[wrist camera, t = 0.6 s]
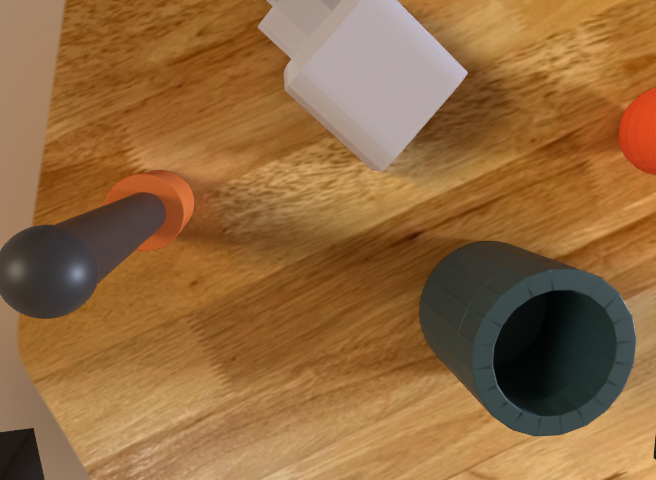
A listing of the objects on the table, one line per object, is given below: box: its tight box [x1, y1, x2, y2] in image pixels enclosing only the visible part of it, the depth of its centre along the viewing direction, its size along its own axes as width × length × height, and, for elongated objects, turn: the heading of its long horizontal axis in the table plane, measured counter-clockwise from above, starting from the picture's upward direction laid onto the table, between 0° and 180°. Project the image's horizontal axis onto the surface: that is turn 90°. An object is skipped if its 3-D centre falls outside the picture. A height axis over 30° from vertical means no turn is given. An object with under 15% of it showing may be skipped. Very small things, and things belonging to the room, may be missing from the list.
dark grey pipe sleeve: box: [420, 241, 637, 436], centre depth 41 cm, size 11×11×11 cm
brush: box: [0, 170, 194, 319], centre depth 29 cm, size 5×5×26 cm
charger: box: [257, 0, 468, 172], centre depth 39 cm, size 5×9×15 cm
